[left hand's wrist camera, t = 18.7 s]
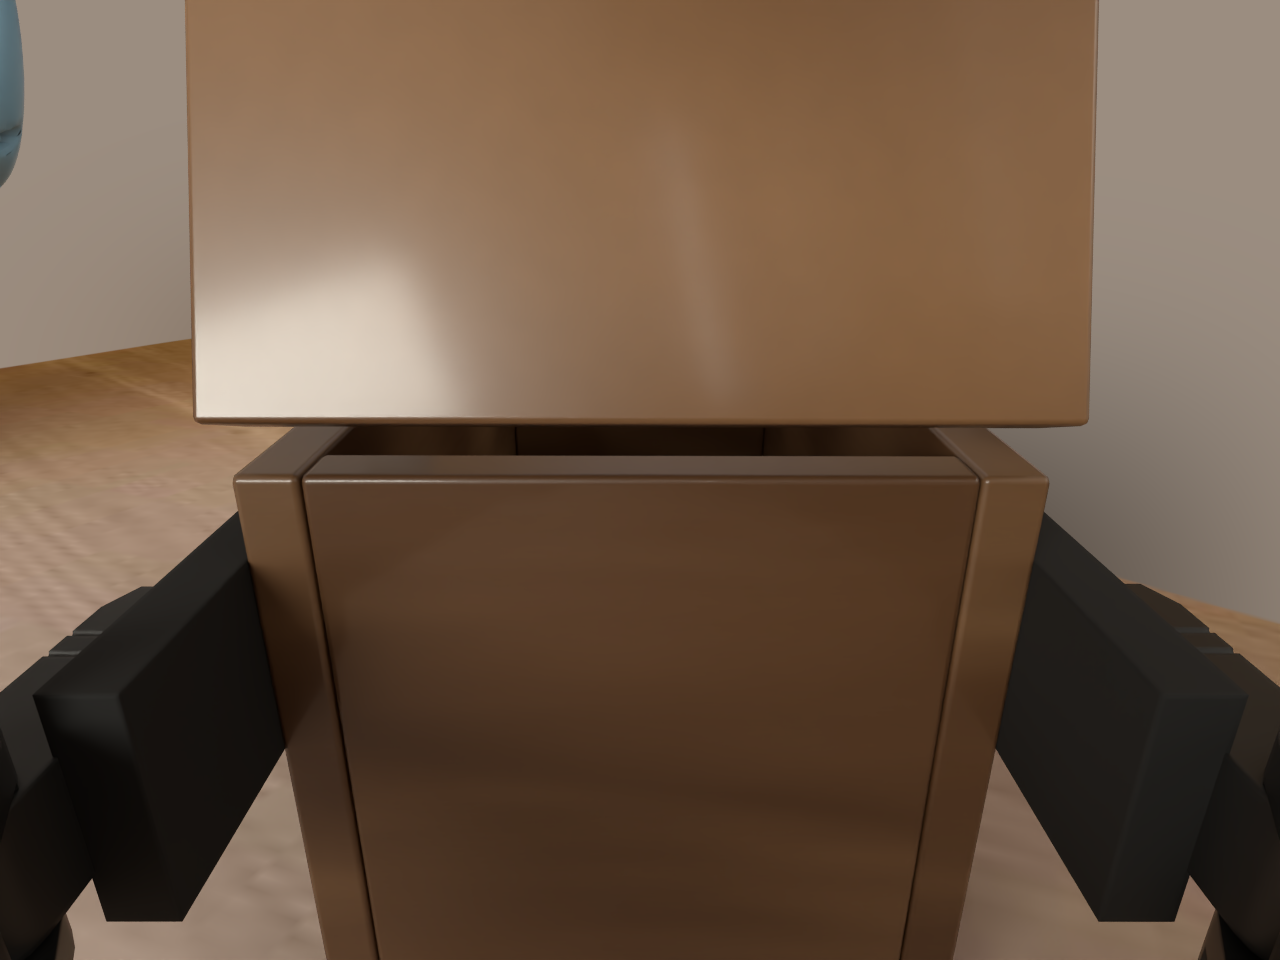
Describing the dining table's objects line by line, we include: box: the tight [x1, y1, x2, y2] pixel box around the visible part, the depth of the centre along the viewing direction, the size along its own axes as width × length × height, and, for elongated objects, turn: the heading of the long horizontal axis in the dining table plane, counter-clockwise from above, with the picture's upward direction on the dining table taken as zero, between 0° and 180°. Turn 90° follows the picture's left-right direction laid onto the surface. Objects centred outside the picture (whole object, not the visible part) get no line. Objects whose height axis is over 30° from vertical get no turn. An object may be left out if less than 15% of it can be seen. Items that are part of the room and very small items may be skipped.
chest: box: [233, 427, 1049, 960], centre depth 18 cm, size 16×9×10 cm, turn 0°
